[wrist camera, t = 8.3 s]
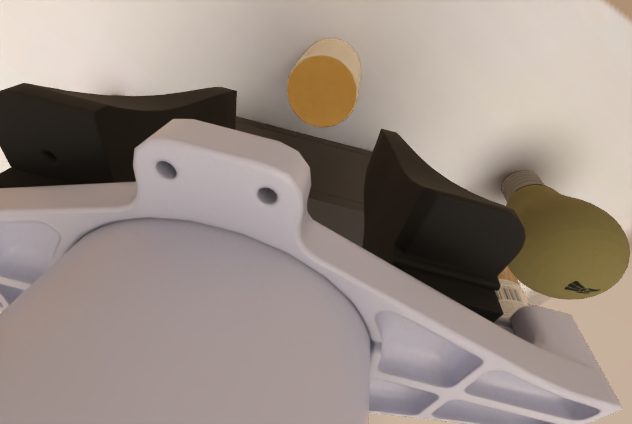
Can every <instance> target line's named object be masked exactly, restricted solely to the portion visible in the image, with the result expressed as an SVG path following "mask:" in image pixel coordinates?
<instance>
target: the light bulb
mask: <svg viewBox="0 0 632 424" xmlns="http://www.w3.org/2000/svg"><path fill="white" fill-rule="evenodd" d="M501 191H502V193H503V195H504V197H505V199H506V201H507V204H506V207H509V208H512V209H514V210H515V212H516V214H517V215H518V217H519V219H520V221H521V223H522V225H523V227H524V228H525V235H526V239H525V243H524V246H523V248H522V249H521V251H520V252H519V254H518V255H517V256H516V257H515V258H514V259H513V260H512V262H511V263H510V264H509V265H508V268H509V269H510V271H511V272H512V273H513V274H514V275H515V276H516V278H517V279H518V280H519V281H521V282H522V283H523V284H524V285H526V286H527V287H529V288H531V289H532V290H534V291H536V292H538V293H541V294H543V295H546V296H550V297H553V298H558V299H584V298H588V297H592V296H596V295H598V294H600V293H602V292H605V291H607V290H608V289H610V288H611V287H612V286H613V285H615V284H616V283H617V282H618V281H619V280H620V279H621V278H622V275H623V274H624V272H625V271H626V269H627V267H628V263H629V257H630V249H629V243H628V239H627V237H626V235H625V233H624V231H623V229H622V228H621V226H620V225H619V224H618V223H617V221H616V220H615V219H614V218H613V217H611V216H610V215H609V214H608V213H607V212H605V211H604V210H602V209H600V208H599V207H597V206H595V205H593V204H591V203H588V202H586V201H583V200H579V199H576V198H572V197H568V196H564V195H561V194H559V193H558V192H556V191H555V190H554V189H552V188H550V187H548V186H545V185H544V183H543V182H542V181H541V180H540V178H539V177H538V176H537V175H536V174H535V173H534V172H531V171H519V172H515V173H513V174H511V175H510V176H508V177H507V178H506V179H505V180H504V181H503V183H502V185H501Z"/></svg>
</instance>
